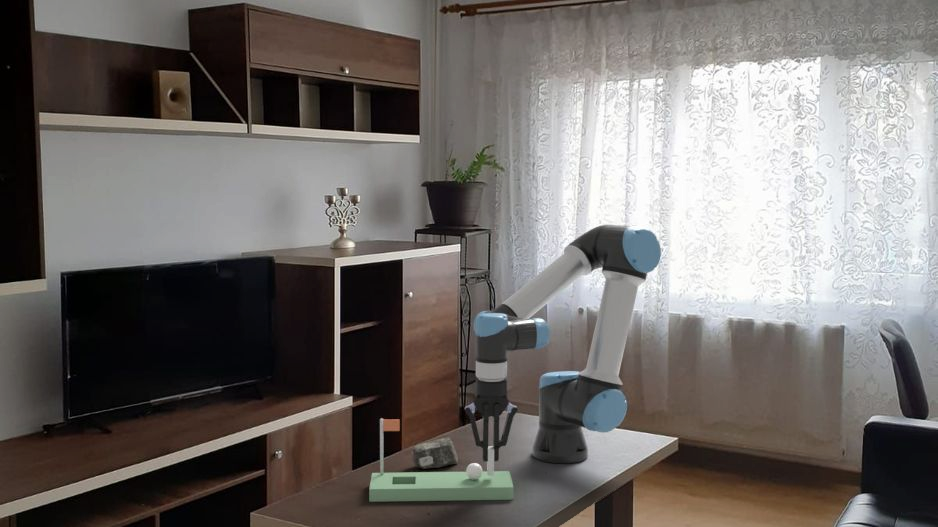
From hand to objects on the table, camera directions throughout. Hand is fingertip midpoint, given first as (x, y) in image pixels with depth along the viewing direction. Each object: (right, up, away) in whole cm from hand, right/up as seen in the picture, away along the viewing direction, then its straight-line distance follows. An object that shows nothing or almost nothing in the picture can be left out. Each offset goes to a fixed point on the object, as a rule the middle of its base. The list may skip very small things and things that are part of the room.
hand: (490, 473), depth 225 cm
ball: (-4, +1, 0) cm, 4 cm away
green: (-12, -4, 0) cm, 13 cm away
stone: (-14, -3, +21) cm, 25 cm away
